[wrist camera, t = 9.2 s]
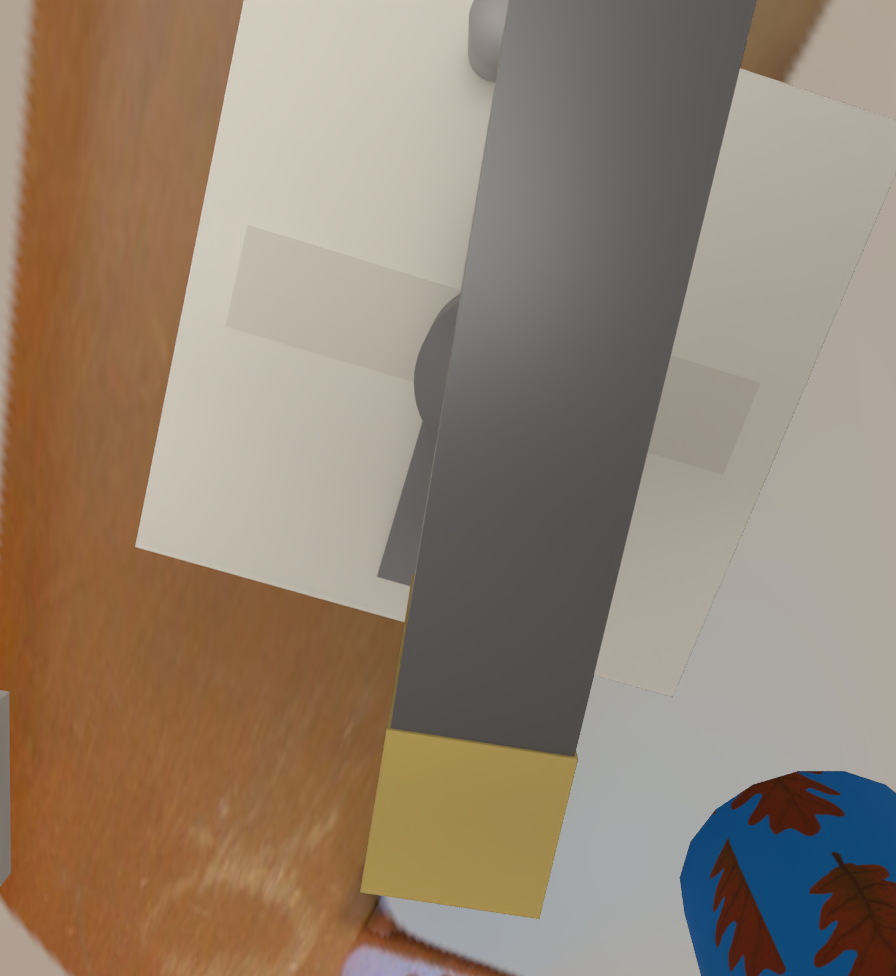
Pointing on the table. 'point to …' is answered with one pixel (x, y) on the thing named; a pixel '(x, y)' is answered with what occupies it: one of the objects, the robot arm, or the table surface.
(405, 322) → the base plate
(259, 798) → the table surface
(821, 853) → the thermos
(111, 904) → the table surface
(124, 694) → the table surface
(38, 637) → the table surface
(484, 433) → the grey yellow rectangular block
